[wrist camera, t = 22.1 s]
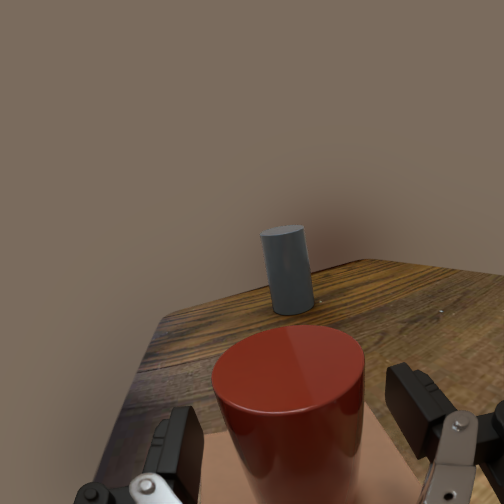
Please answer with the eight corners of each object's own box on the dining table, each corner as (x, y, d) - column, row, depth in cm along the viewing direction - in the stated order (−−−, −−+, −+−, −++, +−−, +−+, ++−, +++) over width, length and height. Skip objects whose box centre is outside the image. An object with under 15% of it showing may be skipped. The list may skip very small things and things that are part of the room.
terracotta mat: (208, 613, 5) (206, 612, 5) (202, 438, 19) (200, 434, 19) (455, 543, 6) (458, 540, 6) (362, 400, 20) (362, 396, 20)
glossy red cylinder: (265, 544, 10) (210, 429, 7) (252, 473, 15) (210, 340, 13) (370, 516, 10) (393, 381, 8) (339, 451, 15) (332, 313, 13)
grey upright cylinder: (277, 319, 36) (263, 238, 34) (269, 302, 42) (256, 231, 39) (320, 308, 37) (309, 228, 35) (307, 294, 42) (297, 222, 40)
